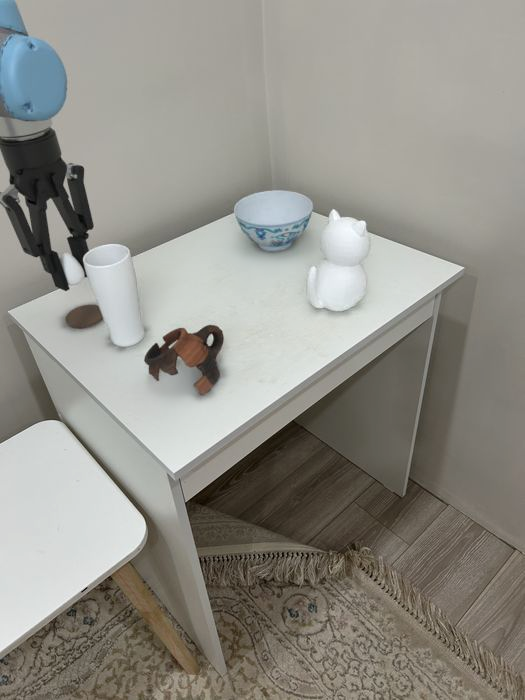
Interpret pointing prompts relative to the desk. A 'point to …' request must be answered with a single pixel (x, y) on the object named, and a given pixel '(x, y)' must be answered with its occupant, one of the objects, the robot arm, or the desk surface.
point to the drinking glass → (116, 292)
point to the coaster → (84, 316)
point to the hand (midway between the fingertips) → (73, 281)
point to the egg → (71, 269)
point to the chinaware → (273, 217)
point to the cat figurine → (340, 265)
